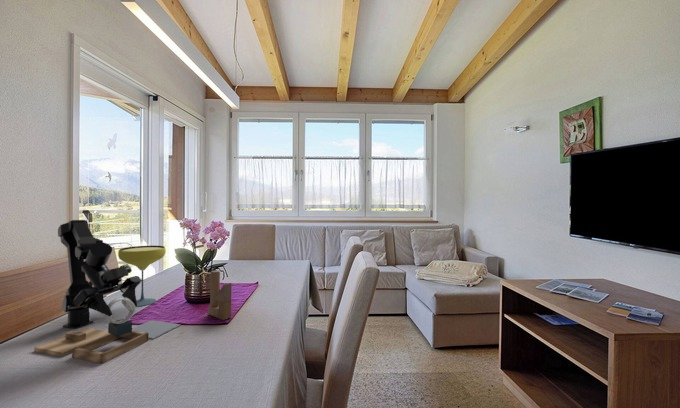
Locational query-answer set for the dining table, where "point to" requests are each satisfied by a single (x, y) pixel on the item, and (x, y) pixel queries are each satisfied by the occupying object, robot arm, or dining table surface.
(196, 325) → the dining table surface
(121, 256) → the cocktail glass
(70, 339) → the lid
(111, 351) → the wooden rectangular frame
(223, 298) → the wooden block
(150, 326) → the felt mat
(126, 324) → the watch
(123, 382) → the dining table surface
